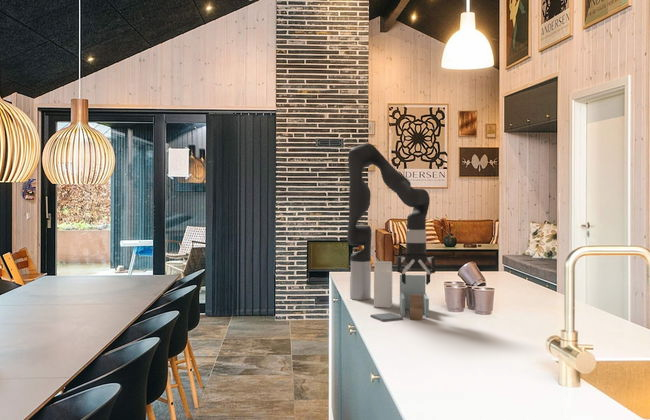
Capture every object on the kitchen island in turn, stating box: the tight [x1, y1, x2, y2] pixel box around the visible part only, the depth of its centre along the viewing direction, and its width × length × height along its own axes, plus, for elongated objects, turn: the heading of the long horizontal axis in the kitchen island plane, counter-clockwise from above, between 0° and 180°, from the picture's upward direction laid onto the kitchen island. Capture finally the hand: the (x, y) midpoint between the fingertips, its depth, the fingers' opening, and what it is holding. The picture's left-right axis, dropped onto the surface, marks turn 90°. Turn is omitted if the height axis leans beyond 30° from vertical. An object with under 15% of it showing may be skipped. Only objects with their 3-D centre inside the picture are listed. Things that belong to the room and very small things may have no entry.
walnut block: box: [409, 294, 424, 321], centre depth 215 cm, size 4×4×9 cm
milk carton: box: [373, 260, 393, 309], centre depth 240 cm, size 7×7×19 cm
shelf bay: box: [399, 274, 430, 318], centre depth 227 cm, size 16×10×14 cm, turn 175°
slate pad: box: [370, 312, 404, 322], centre depth 216 cm, size 9×9×1 cm
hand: (415, 284), depth 215 cm, fingers open, 8 cm apart
